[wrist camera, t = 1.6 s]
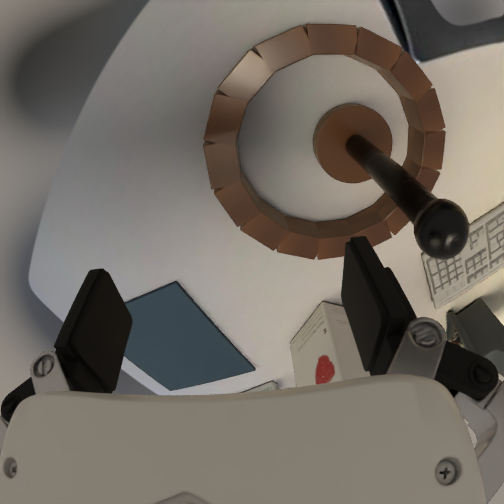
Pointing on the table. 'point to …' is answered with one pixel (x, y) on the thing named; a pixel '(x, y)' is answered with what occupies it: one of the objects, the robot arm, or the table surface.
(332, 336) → the white product box
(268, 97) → the table surface
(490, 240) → the keyboard
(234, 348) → the mat
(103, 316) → the robot arm
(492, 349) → the dark grey upright piece
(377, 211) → the hoop
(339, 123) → the standing post
